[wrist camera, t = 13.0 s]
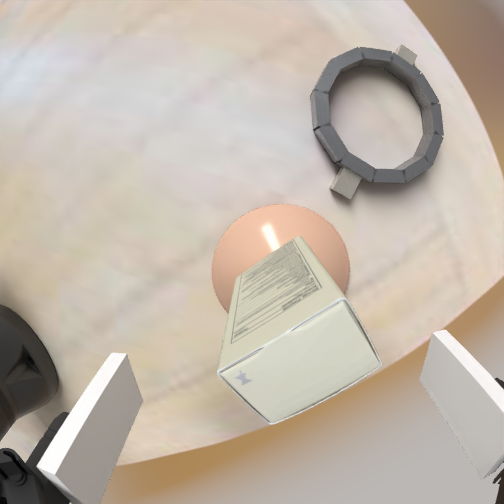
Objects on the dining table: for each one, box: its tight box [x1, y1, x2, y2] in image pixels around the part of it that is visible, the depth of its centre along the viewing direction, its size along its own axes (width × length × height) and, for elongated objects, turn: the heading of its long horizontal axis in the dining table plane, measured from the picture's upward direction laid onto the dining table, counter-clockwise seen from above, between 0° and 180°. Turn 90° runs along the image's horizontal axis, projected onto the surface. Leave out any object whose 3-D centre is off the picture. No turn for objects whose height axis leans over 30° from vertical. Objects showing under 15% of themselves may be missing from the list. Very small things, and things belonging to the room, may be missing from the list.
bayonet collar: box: [310, 45, 444, 199], centre depth 19 cm, size 15×11×2 cm
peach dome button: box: [212, 204, 350, 314], centre depth 23 cm, size 11×11×1 cm
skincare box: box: [217, 236, 382, 425], centre depth 17 cm, size 6×4×12 cm
